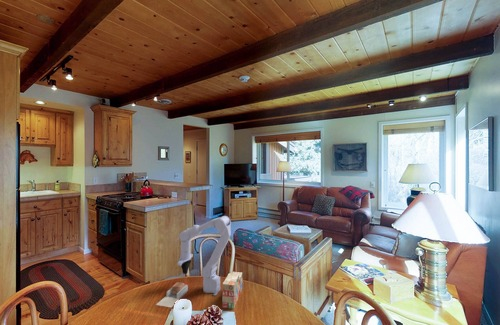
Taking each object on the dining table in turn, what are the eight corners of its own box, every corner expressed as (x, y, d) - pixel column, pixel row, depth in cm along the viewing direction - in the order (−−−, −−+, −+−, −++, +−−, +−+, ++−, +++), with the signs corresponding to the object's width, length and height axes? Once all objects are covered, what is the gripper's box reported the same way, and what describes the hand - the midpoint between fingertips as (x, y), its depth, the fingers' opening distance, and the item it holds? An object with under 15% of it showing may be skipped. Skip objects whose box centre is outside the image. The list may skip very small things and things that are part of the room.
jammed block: (184, 290, 131) (184, 283, 131) (179, 294, 126) (179, 287, 126) (177, 289, 132) (177, 282, 132) (172, 293, 127) (172, 286, 127)
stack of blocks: (232, 287, 137) (232, 266, 137) (242, 288, 136) (242, 267, 136) (221, 308, 116) (222, 283, 116) (233, 309, 115) (234, 284, 115)
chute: (188, 291, 131) (189, 285, 132) (171, 309, 114) (171, 302, 114) (175, 289, 134) (175, 283, 134) (155, 306, 116) (155, 299, 116)
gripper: (185, 246, 145) (185, 267, 144) (173, 254, 131) (172, 278, 130) (195, 247, 143) (195, 268, 143) (184, 255, 129) (183, 279, 129)
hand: (185, 273), depth 136 cm, fingers closed
